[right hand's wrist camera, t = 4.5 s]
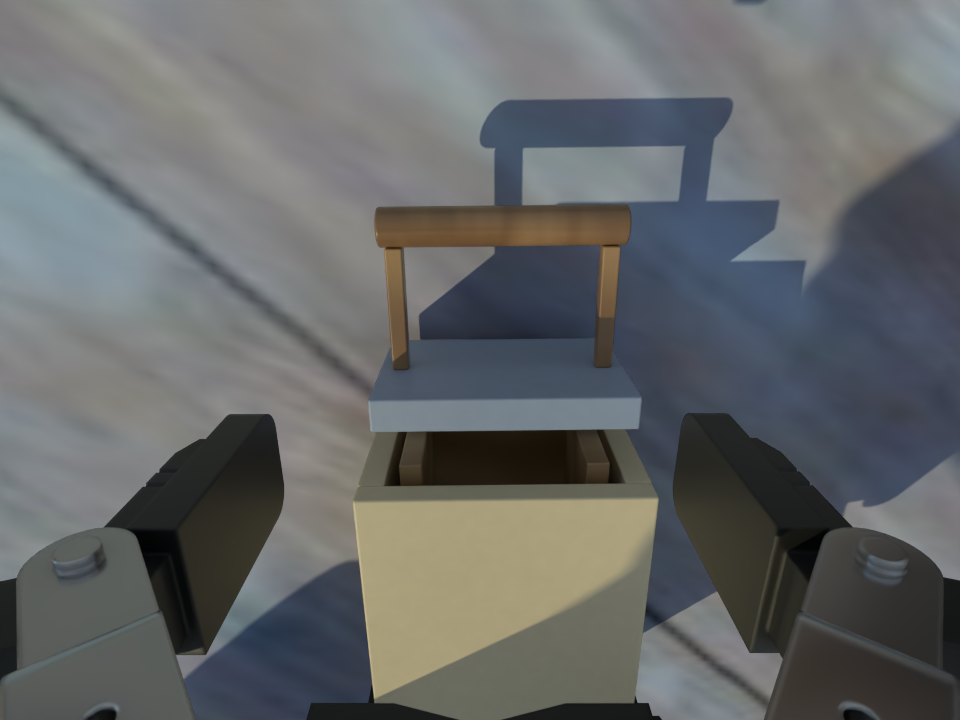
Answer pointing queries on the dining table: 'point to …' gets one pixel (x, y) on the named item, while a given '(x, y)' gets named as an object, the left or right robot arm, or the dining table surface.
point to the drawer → (503, 361)
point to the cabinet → (504, 586)
